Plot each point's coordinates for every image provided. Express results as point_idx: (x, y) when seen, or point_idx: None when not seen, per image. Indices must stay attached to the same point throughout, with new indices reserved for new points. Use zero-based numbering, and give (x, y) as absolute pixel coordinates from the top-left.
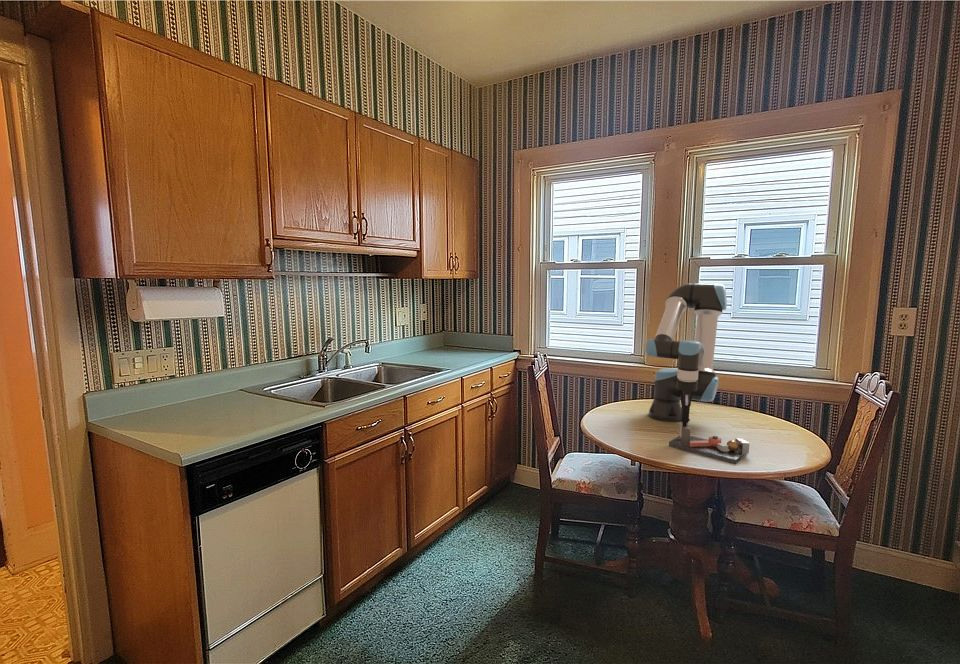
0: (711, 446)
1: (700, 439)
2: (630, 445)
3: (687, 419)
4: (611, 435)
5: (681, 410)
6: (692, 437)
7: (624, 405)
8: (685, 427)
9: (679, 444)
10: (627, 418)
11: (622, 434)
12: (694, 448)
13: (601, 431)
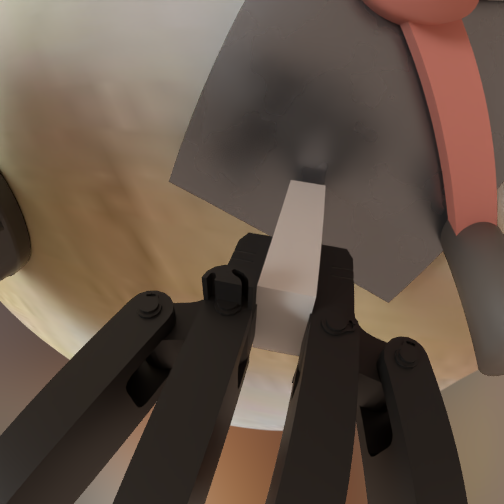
0: None
1: (267, 58)
2: None
3: (431, 398)
4: (282, 411)
5: (141, 420)
6: (238, 119)
7: (7, 301)
8: (499, 353)
9: (427, 255)
10: (83, 331)
11: (259, 391)
12: (498, 177)
13: (253, 417)
